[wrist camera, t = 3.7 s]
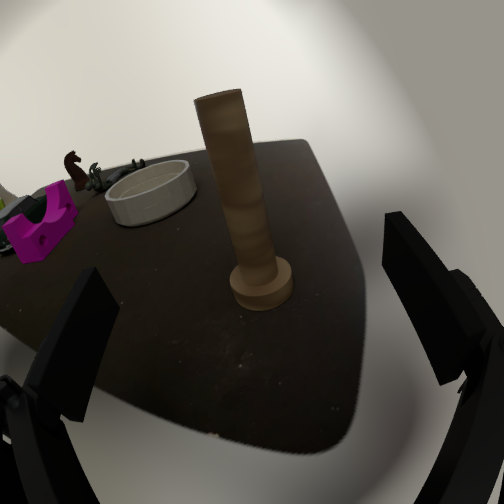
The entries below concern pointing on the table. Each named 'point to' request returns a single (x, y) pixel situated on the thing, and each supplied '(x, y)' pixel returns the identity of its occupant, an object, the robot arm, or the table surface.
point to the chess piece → (75, 171)
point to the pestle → (243, 202)
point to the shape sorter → (5, 197)
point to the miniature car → (25, 205)
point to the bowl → (151, 193)
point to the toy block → (42, 226)
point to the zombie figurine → (111, 179)
